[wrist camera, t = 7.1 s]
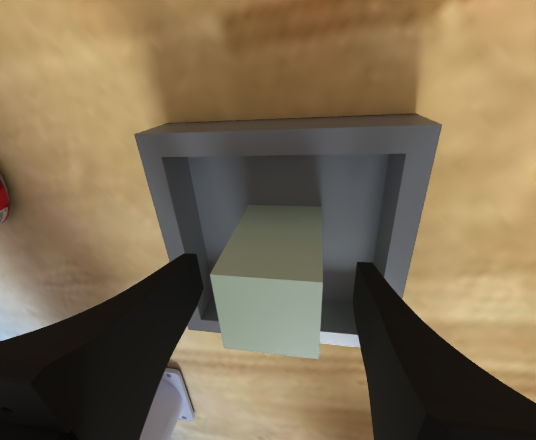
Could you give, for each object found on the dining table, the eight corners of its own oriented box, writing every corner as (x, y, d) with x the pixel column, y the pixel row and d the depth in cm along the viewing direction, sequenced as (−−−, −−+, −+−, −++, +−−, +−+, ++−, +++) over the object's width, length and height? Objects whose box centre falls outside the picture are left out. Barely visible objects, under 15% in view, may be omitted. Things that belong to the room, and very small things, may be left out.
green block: (253, 263, 17) (223, 348, 12) (248, 204, 15) (210, 274, 10) (319, 267, 16) (318, 359, 11) (322, 206, 14) (322, 282, 9)
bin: (206, 295, 20) (188, 329, 17) (168, 123, 14) (134, 134, 12) (380, 309, 18) (390, 350, 15) (415, 113, 12) (442, 124, 10)
